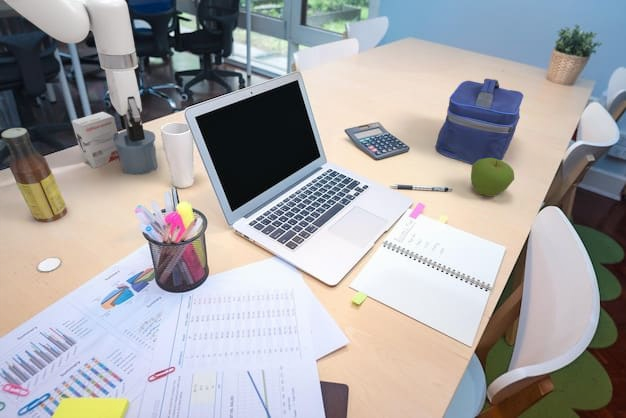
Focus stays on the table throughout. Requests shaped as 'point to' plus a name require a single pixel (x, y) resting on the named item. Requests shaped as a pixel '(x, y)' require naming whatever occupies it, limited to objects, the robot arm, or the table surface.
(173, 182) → the drinking glass
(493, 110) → the lunch bag
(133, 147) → the canister lid
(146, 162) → the canister
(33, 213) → the sauce bottle
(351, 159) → the table surface
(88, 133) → the ink box
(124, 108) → the robot arm
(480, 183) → the apple
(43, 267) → the white flat disc
